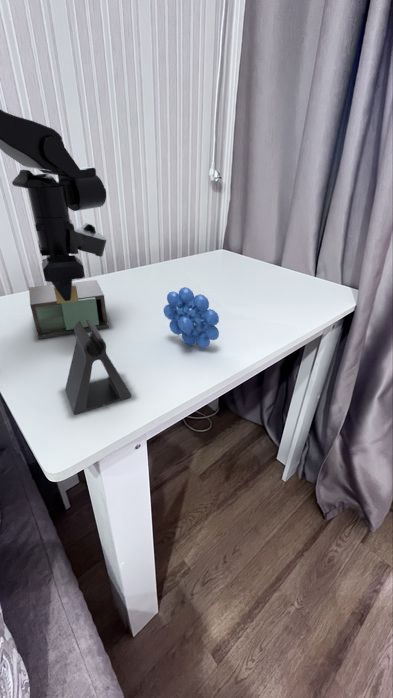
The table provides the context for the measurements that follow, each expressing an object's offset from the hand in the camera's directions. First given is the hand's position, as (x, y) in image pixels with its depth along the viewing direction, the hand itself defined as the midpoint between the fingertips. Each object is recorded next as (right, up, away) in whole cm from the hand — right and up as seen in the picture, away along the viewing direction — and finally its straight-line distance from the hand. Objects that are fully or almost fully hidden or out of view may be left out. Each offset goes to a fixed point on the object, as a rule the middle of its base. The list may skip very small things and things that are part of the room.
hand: (67, 299), depth 65 cm
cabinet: (-2, -4, +8) cm, 9 cm away
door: (+1, -5, +4) cm, 7 cm away
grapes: (+24, -10, +1) cm, 26 cm away
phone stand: (+10, -17, -12) cm, 23 cm away
